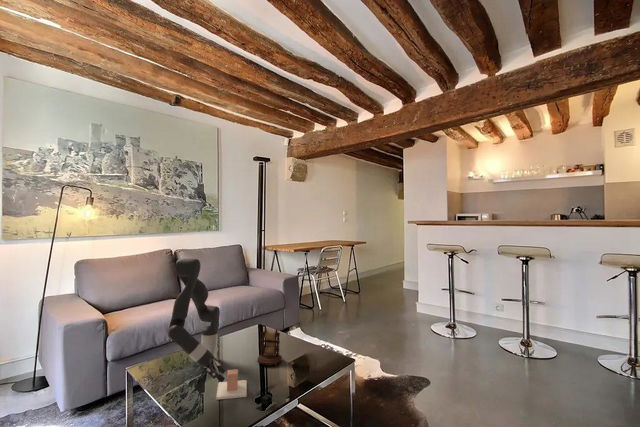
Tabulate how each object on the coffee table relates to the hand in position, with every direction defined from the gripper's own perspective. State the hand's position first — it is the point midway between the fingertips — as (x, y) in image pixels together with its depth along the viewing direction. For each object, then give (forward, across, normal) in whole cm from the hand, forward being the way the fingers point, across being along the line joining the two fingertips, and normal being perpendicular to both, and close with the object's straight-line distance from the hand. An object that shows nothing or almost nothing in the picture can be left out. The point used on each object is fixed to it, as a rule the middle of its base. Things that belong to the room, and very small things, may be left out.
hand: (223, 376), depth 156 cm
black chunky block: (+20, -16, -8) cm, 27 cm away
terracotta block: (+7, 0, +1) cm, 8 cm away
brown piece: (+23, +29, -13) cm, 39 cm away
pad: (+8, 0, +2) cm, 8 cm away
